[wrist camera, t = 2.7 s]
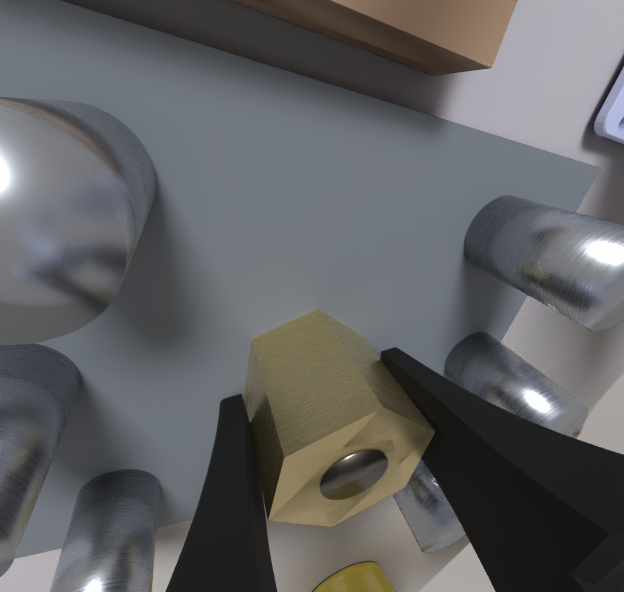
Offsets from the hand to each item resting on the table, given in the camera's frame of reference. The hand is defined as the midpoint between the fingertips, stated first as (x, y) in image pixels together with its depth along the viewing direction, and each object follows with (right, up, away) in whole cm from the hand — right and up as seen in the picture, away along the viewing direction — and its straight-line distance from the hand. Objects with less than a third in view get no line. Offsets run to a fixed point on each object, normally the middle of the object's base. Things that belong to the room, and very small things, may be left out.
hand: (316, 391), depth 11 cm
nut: (0, +1, +1) cm, 1 cm away
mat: (-1, +1, +2) cm, 2 cm away
